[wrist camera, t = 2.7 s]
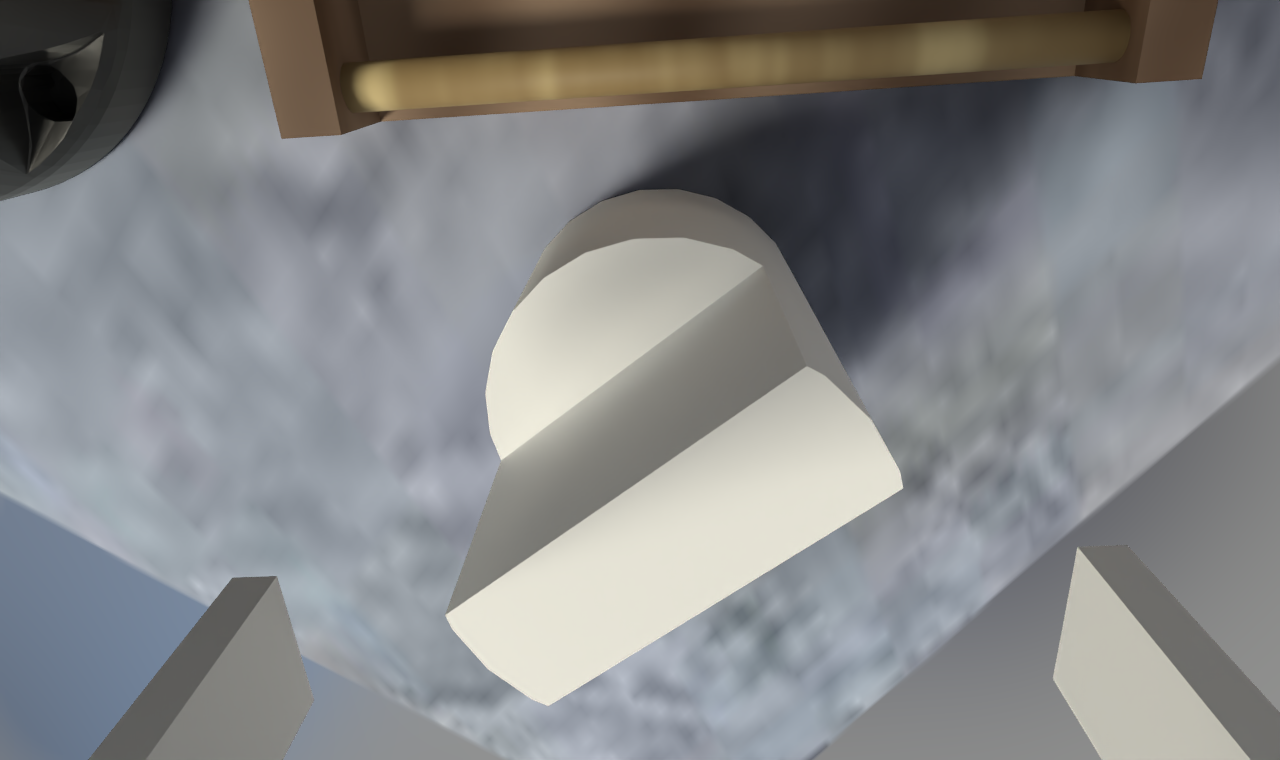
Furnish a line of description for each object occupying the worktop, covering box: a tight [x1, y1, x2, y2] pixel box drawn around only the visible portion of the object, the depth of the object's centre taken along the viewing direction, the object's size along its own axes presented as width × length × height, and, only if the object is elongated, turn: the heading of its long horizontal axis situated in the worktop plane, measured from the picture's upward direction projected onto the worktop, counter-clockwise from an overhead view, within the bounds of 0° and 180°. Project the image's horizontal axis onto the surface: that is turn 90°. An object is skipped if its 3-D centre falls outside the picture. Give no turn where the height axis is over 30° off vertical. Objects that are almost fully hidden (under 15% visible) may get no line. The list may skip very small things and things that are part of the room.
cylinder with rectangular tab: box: [445, 189, 903, 706], centre depth 20 cm, size 9×9×12 cm
